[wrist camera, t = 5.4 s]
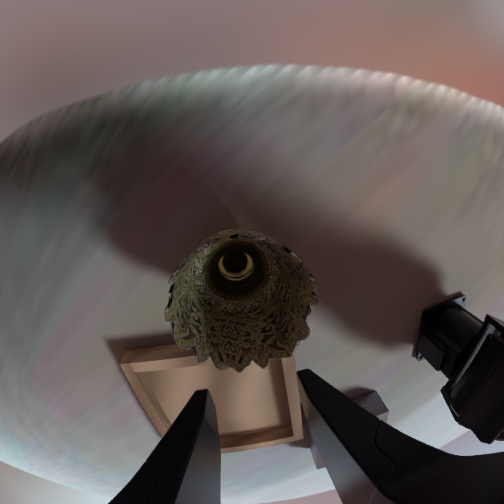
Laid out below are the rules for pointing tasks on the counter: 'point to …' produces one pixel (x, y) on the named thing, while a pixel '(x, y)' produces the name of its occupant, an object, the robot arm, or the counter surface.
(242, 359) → the ornate lamp shade
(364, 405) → the panel
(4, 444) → the counter surface
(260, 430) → the wooden tray
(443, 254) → the counter surface
